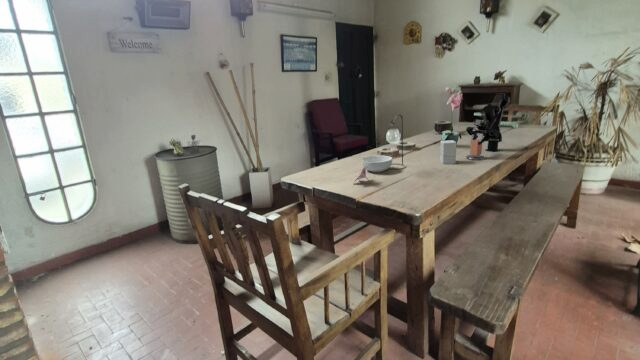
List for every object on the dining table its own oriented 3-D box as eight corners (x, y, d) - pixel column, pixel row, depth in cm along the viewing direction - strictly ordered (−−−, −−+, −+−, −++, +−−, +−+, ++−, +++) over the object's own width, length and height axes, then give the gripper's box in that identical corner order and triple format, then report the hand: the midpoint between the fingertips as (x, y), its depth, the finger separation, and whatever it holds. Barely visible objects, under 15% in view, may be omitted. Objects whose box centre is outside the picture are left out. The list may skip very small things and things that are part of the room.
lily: (369, 180, 179) (359, 164, 178) (383, 176, 169) (373, 160, 168) (354, 192, 173) (344, 176, 172) (367, 188, 163) (357, 172, 162)
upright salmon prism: (474, 153, 207) (475, 139, 204) (481, 154, 203) (482, 140, 200) (469, 154, 204) (470, 140, 202) (476, 155, 201) (477, 141, 198)
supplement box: (452, 160, 202) (453, 139, 199) (455, 163, 195) (456, 142, 192) (439, 161, 203) (440, 140, 200) (442, 164, 196) (443, 142, 193)
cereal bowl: (374, 165, 203) (374, 153, 201) (398, 169, 192) (398, 157, 190) (356, 171, 192) (356, 159, 190) (380, 176, 181) (380, 163, 179)
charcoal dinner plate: (473, 155, 211) (473, 154, 211) (487, 158, 203) (488, 156, 202) (462, 158, 206) (462, 156, 206) (477, 161, 198) (477, 159, 198)
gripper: (468, 113, 206) (455, 133, 204) (497, 115, 191) (484, 137, 189) (475, 124, 212) (463, 144, 210) (504, 127, 197) (491, 149, 195)
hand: (474, 143), depth 201 cm, fingers closed on upright salmon prism, 4 cm apart
